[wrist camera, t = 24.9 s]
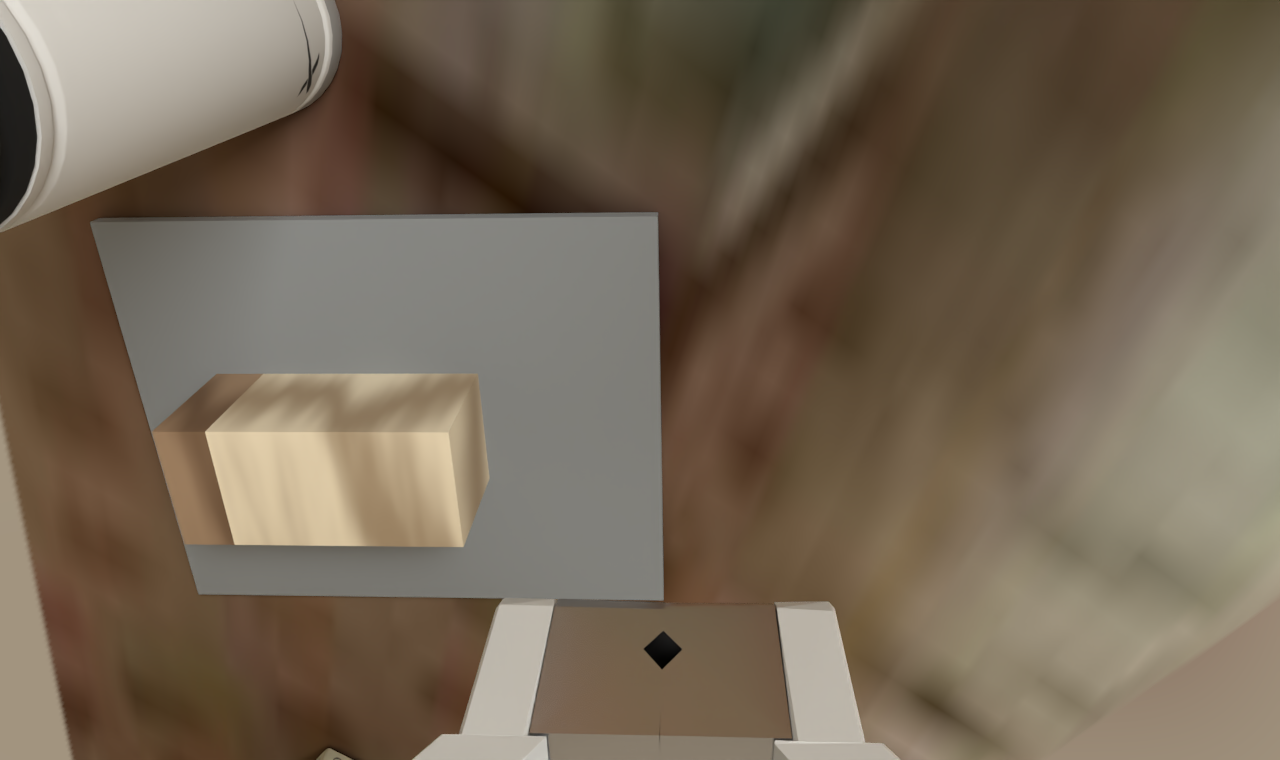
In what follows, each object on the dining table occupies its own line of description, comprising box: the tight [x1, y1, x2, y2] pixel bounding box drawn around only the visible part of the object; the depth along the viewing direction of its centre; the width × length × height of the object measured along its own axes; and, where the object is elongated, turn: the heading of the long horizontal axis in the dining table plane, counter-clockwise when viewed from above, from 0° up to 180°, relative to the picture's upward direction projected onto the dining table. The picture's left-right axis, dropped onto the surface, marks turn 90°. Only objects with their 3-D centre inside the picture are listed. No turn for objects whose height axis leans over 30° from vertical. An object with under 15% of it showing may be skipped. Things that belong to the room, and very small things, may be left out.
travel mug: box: [0, 0, 342, 232], centre depth 23 cm, size 6×7×20 cm
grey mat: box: [90, 212, 664, 600], centre depth 38 cm, size 22×18×1 cm
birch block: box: [152, 374, 489, 547], centre depth 36 cm, size 5×5×11 cm
